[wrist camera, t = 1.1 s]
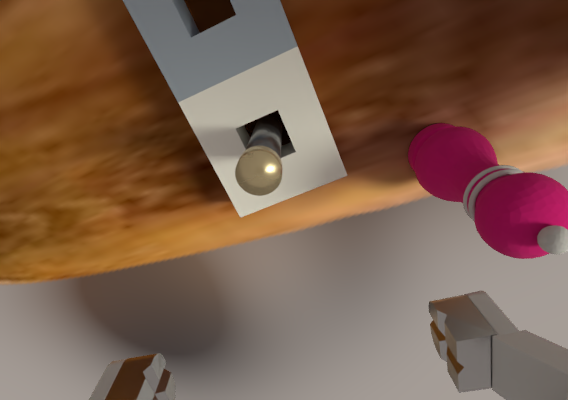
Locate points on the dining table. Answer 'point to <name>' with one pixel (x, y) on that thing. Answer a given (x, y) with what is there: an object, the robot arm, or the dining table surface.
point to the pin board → (242, 91)
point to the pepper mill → (492, 191)
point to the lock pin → (261, 159)
